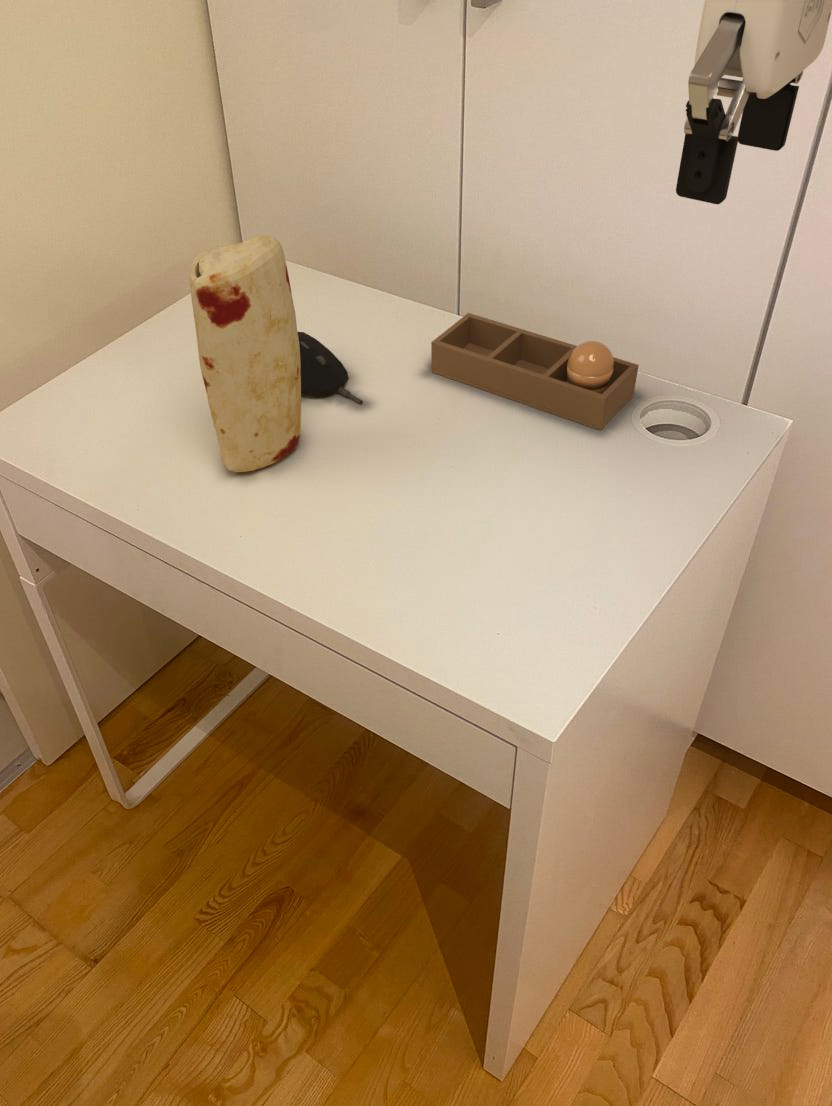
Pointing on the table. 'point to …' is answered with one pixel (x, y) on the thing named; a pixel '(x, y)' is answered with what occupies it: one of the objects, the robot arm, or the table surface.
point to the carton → (527, 370)
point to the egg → (590, 367)
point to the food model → (248, 350)
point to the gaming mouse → (321, 370)
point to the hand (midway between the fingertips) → (730, 171)
